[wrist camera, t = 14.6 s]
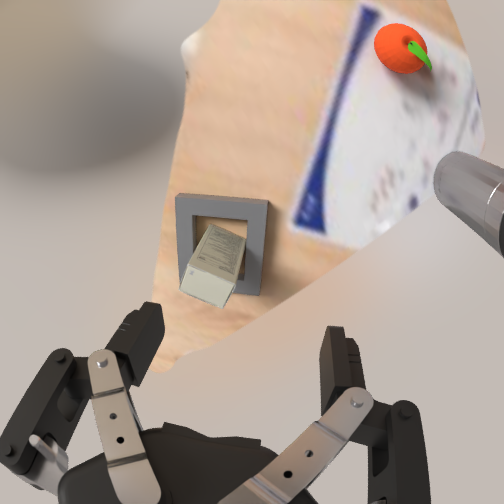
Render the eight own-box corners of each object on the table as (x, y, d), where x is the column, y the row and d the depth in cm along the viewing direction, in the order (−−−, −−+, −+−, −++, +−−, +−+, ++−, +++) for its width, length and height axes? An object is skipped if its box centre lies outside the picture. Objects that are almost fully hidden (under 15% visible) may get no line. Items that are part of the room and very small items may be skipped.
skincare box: (200, 245, 46) (174, 289, 35) (210, 222, 44) (184, 262, 33) (238, 262, 47) (222, 311, 36) (249, 240, 45) (236, 285, 34)
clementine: (428, 58, 28) (452, 52, 22) (405, 90, 32) (426, 89, 25) (383, 20, 27) (400, 6, 21) (358, 53, 30) (372, 43, 24)
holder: (268, 200, 42) (267, 204, 40) (260, 288, 49) (259, 295, 47) (179, 193, 43) (175, 197, 41) (183, 279, 50) (180, 285, 48)
